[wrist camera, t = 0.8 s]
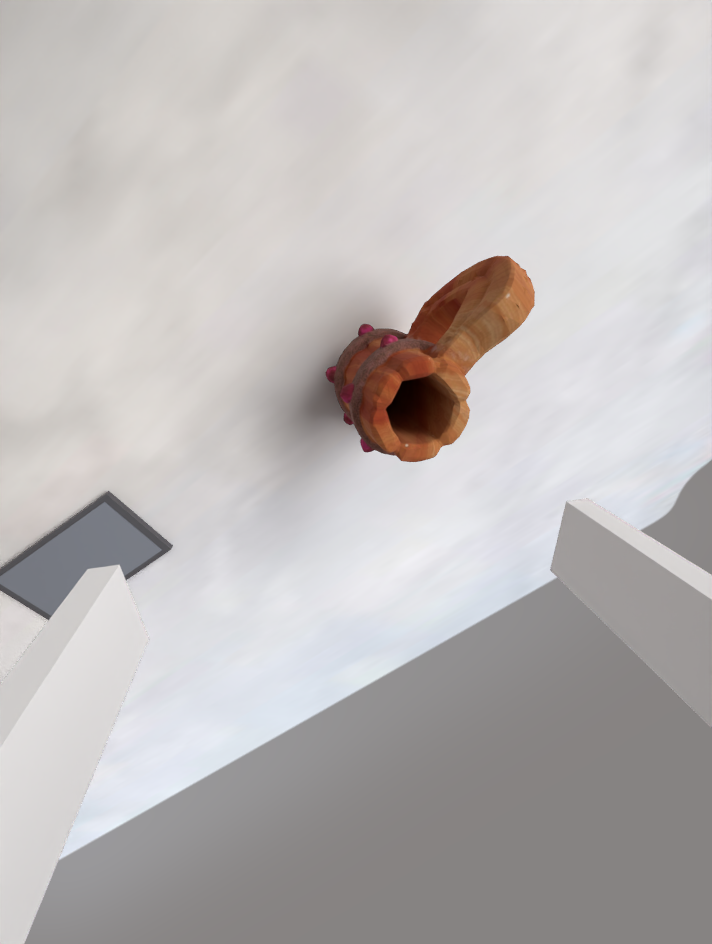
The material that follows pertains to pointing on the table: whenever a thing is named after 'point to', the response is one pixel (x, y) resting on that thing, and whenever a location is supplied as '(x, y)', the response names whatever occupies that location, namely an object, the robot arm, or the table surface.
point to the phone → (81, 554)
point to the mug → (429, 362)
